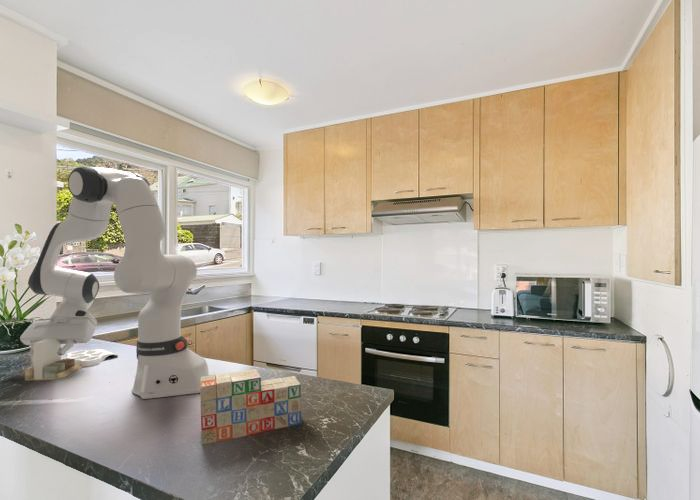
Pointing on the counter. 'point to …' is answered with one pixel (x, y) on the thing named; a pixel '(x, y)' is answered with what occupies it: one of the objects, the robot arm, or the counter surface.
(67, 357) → the knuckle duster
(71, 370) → the oak rack
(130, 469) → the counter surface
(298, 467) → the counter surface
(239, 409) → the stack of blocks
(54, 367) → the offcuts
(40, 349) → the cream board
